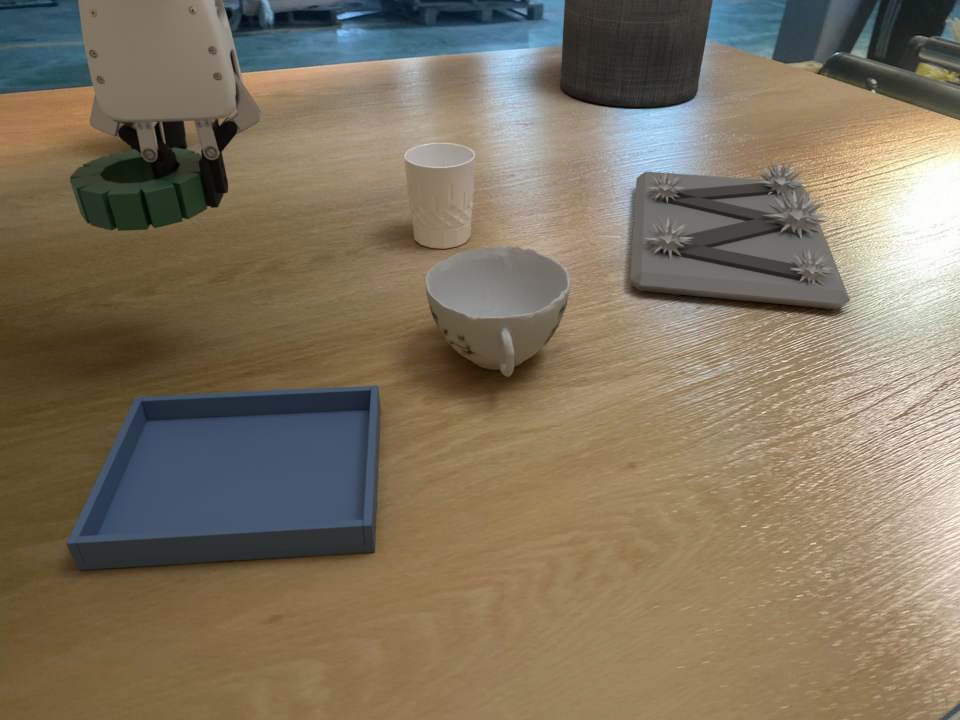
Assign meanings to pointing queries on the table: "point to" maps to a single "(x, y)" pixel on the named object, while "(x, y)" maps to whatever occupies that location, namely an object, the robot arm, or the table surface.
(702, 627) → the table surface
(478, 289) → the teacup
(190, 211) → the ring
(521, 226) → the table surface
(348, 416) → the tray
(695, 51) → the planter
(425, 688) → the table surface
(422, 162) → the white cup
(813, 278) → the decorative plate
